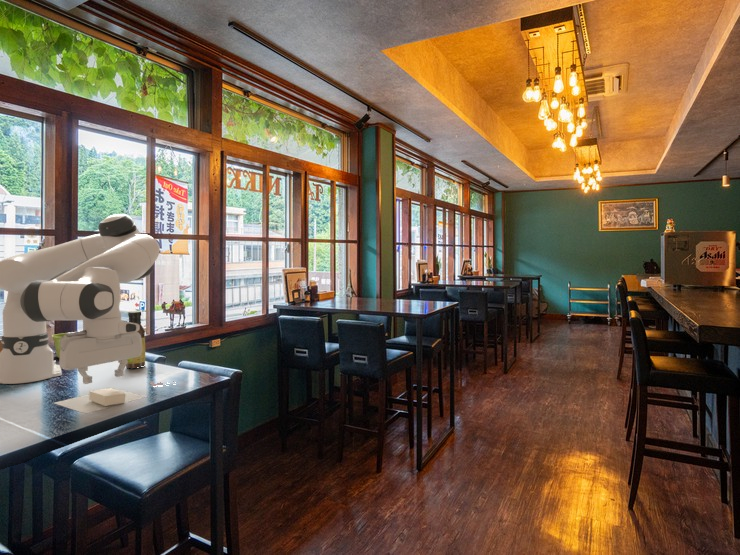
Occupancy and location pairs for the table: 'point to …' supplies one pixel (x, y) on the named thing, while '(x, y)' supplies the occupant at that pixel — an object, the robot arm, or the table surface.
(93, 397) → the card deck
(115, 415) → the table surface
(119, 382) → the table surface
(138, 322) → the sauce bottle
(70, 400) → the bar mat
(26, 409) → the table surface
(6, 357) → the robot arm
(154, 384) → the mobile phone
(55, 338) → the plant pot
